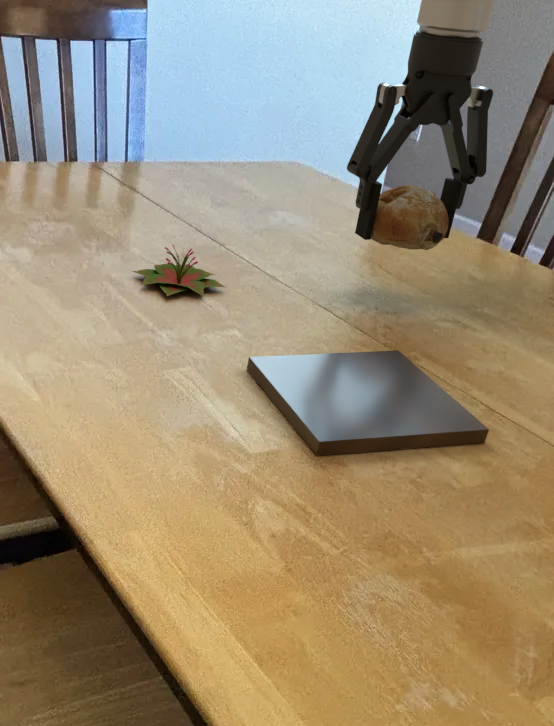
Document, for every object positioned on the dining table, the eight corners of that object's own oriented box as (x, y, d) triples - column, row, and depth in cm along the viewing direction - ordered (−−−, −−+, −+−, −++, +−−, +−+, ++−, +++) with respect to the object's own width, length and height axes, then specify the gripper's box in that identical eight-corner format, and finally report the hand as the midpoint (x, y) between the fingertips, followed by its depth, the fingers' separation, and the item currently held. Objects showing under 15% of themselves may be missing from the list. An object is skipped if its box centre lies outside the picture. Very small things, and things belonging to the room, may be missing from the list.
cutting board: (395, 362, 98) (398, 350, 97) (484, 443, 85) (489, 429, 84) (246, 369, 94) (248, 356, 93) (316, 456, 80) (319, 441, 79)
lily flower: (242, 295, 111) (247, 259, 109) (162, 306, 106) (166, 269, 103) (191, 264, 119) (195, 230, 117) (115, 273, 114) (117, 238, 111)
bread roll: (396, 281, 106) (436, 228, 100) (338, 225, 109) (375, 170, 103) (434, 265, 112) (475, 214, 106) (379, 212, 115) (416, 160, 109)
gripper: (517, 31, 102) (464, 225, 115) (341, 22, 96) (306, 227, 109) (558, 40, 96) (497, 243, 109) (373, 31, 90) (332, 247, 103)
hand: (401, 235), depth 109 cm, fingers closed on bread roll, 10 cm apart
